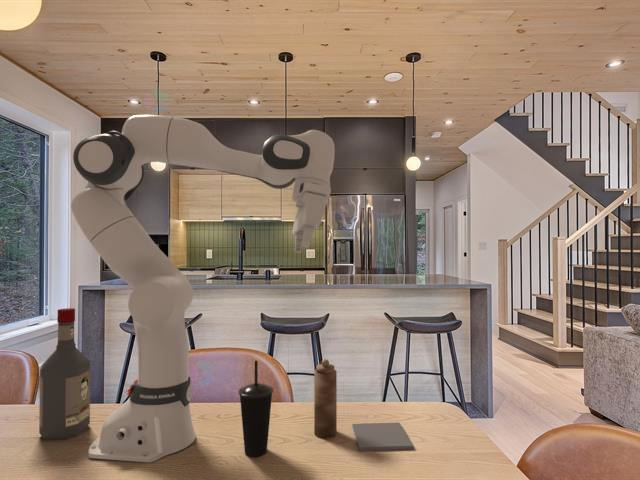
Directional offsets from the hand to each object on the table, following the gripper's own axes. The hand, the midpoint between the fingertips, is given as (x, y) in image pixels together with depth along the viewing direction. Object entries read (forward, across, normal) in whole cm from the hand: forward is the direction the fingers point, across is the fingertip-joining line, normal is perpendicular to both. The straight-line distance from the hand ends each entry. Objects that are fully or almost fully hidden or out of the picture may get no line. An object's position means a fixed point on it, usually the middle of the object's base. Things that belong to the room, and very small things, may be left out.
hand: (301, 249), depth 97 cm
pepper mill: (+42, -6, +14) cm, 45 cm away
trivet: (+41, -1, +26) cm, 49 cm away
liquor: (+52, -22, -47) cm, 74 cm away
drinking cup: (+46, -1, -2) cm, 46 cm away
